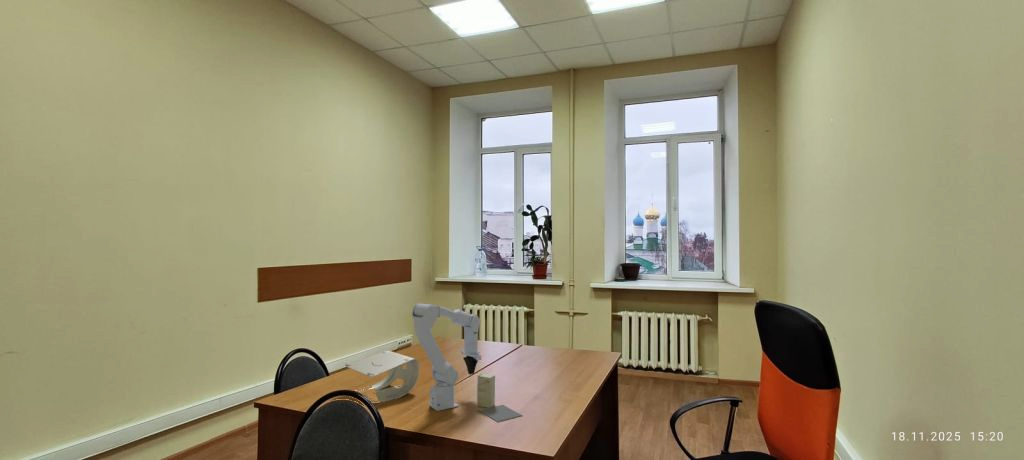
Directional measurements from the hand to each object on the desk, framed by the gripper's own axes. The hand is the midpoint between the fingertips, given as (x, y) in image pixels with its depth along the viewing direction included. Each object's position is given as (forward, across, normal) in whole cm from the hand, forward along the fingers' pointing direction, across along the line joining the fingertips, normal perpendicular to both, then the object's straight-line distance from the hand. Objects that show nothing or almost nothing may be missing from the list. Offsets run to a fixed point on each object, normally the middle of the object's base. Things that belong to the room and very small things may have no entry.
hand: (471, 373), depth 199 cm
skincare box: (+10, -13, 0) cm, 16 cm away
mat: (+10, -24, 0) cm, 26 cm away
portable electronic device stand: (+10, +28, +30) cm, 42 cm away
